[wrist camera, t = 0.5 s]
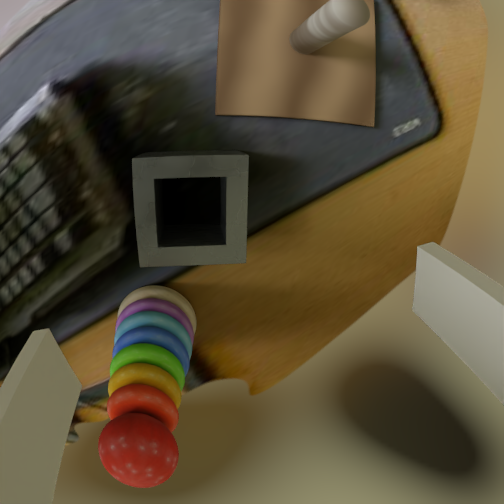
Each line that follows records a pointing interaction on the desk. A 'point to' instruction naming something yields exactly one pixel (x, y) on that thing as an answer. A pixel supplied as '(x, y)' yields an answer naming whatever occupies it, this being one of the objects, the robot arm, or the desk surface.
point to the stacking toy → (147, 385)
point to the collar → (192, 235)
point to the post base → (297, 60)
